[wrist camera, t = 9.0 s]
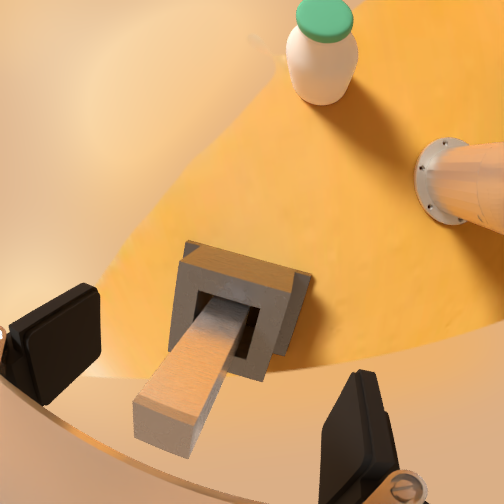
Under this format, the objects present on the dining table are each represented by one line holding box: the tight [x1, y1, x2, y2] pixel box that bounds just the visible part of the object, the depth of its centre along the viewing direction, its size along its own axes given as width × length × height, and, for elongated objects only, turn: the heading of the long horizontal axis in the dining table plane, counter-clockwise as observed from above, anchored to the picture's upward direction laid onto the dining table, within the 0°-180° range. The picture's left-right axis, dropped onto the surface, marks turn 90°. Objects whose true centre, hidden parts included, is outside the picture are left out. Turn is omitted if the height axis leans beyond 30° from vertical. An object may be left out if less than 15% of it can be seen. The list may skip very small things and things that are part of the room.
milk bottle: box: [286, 0, 358, 105], centre depth 27 cm, size 8×8×20 cm
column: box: [133, 295, 250, 459], centre depth 31 cm, size 5×6×22 cm
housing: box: [168, 240, 311, 382], centre depth 42 cm, size 19×14×10 cm
